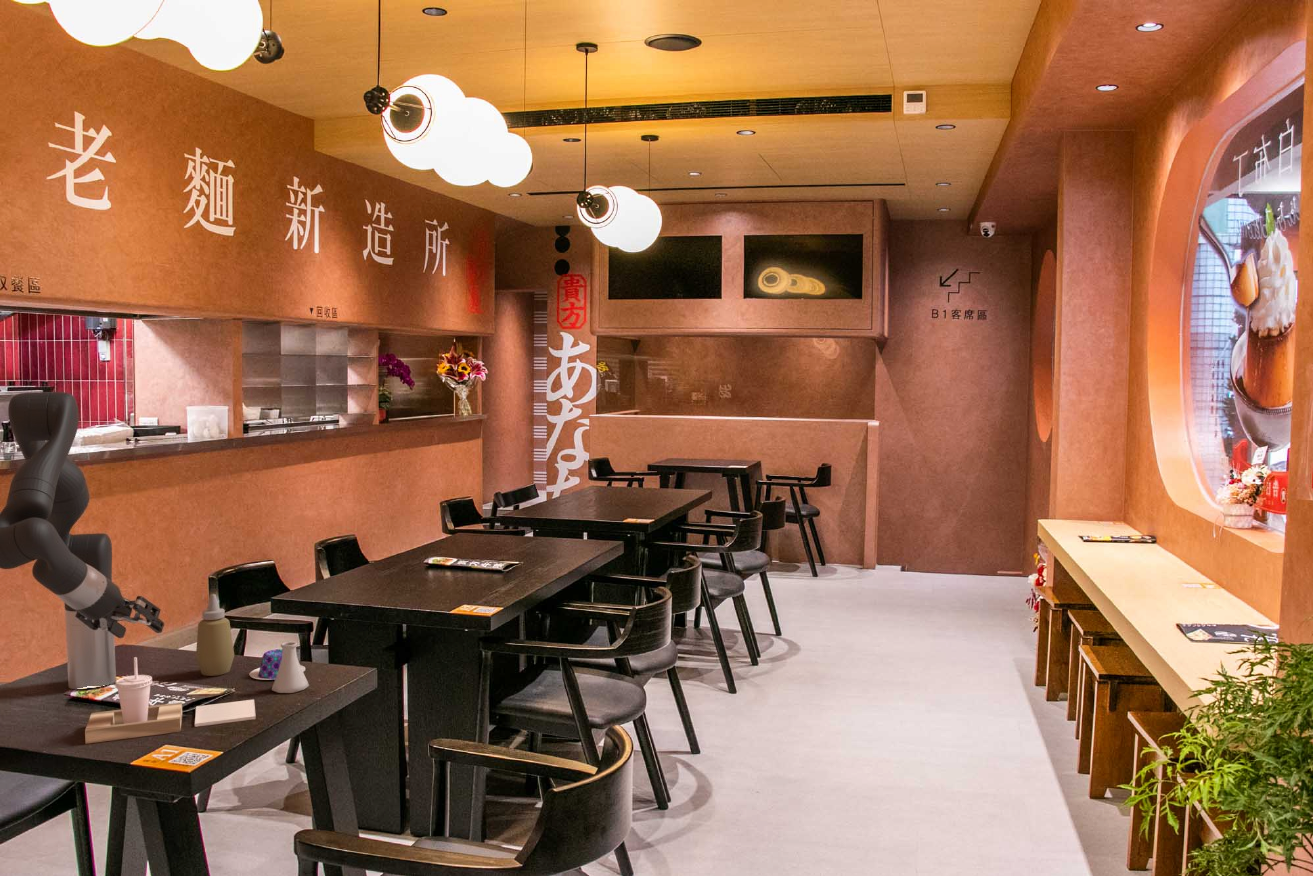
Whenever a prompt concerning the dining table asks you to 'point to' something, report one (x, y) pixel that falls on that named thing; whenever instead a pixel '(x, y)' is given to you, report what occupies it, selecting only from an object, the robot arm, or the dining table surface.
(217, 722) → the ceramic pad
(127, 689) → the smoothie
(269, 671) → the pudding
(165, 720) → the collar
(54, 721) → the dining table surface
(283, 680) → the flask
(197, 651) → the squeeze bottle
